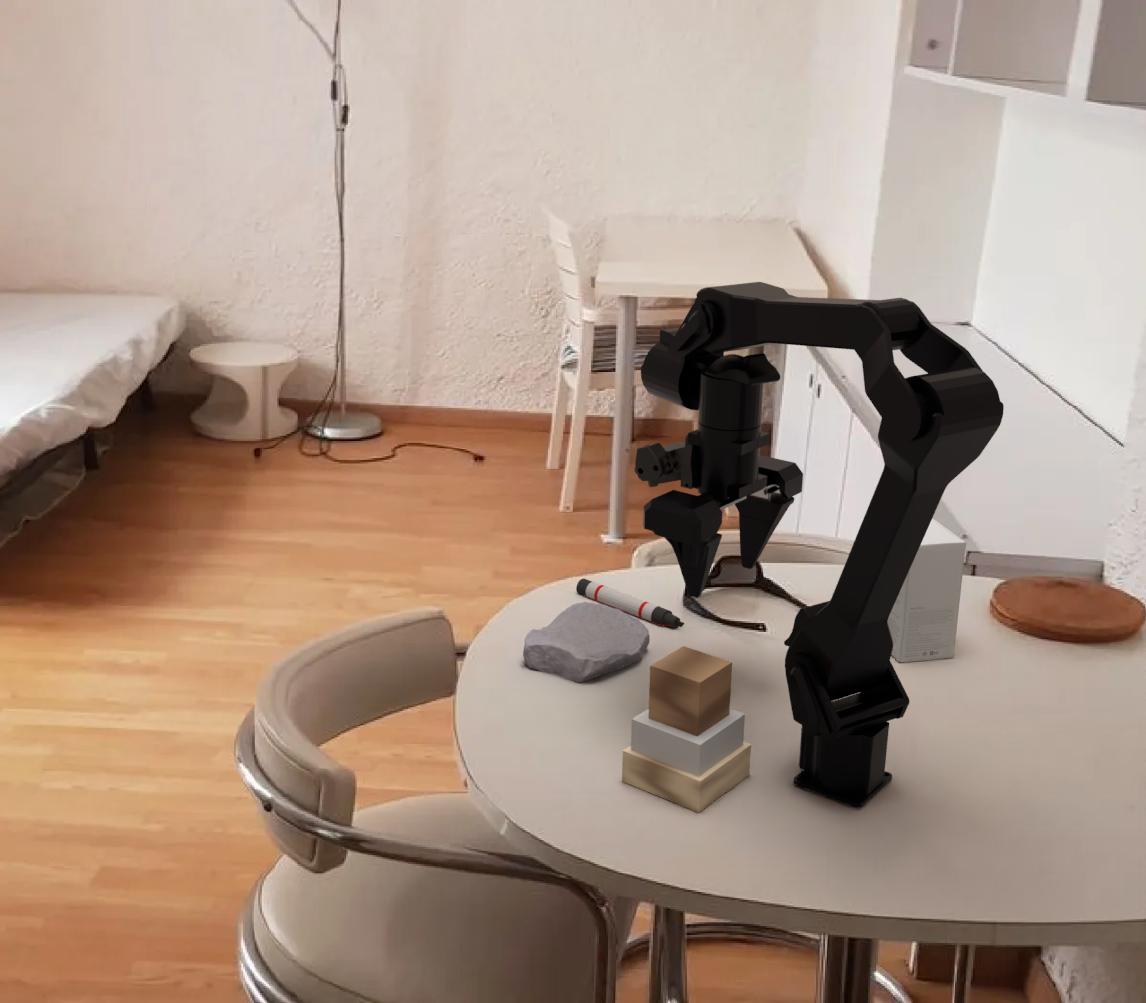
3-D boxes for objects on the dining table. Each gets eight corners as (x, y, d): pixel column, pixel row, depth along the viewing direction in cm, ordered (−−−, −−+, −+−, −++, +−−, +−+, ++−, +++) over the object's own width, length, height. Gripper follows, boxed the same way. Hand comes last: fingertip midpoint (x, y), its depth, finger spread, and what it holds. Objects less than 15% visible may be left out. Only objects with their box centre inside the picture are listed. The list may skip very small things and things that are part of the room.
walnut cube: (729, 714, 120) (732, 662, 118) (697, 736, 116) (699, 682, 115) (681, 697, 123) (683, 646, 121) (648, 718, 119) (650, 665, 118)
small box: (954, 658, 145) (968, 542, 141) (898, 664, 144) (910, 546, 140) (920, 627, 153) (931, 515, 148) (866, 631, 151) (876, 519, 147)
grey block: (743, 744, 121) (745, 714, 120) (698, 776, 116) (700, 744, 115) (676, 720, 125) (677, 690, 124) (630, 750, 120) (631, 719, 119)
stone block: (654, 664, 148) (578, 625, 152) (663, 626, 145) (585, 587, 150) (593, 711, 138) (513, 667, 143) (601, 671, 136) (520, 628, 141)
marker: (575, 596, 160) (576, 580, 160) (587, 592, 162) (588, 576, 161) (678, 636, 150) (679, 619, 150) (689, 631, 152) (690, 614, 151)
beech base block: (749, 774, 122) (751, 744, 121) (698, 812, 116) (700, 781, 115) (674, 746, 127) (675, 716, 126) (621, 781, 121) (622, 750, 120)
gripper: (711, 388, 138) (704, 535, 143) (596, 427, 124) (593, 589, 129) (810, 407, 131) (799, 561, 137) (701, 452, 118) (693, 621, 123)
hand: (721, 581), depth 131 cm, fingers open, 9 cm apart
